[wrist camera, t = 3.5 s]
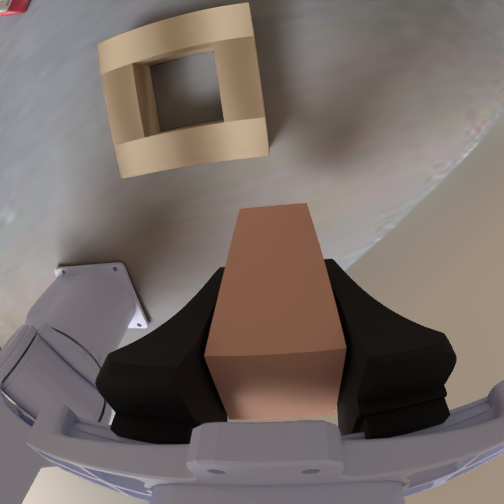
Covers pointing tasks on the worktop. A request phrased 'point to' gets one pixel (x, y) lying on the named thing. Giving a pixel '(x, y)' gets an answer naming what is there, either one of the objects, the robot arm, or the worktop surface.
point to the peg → (276, 320)
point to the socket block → (143, 100)
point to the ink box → (13, 6)
